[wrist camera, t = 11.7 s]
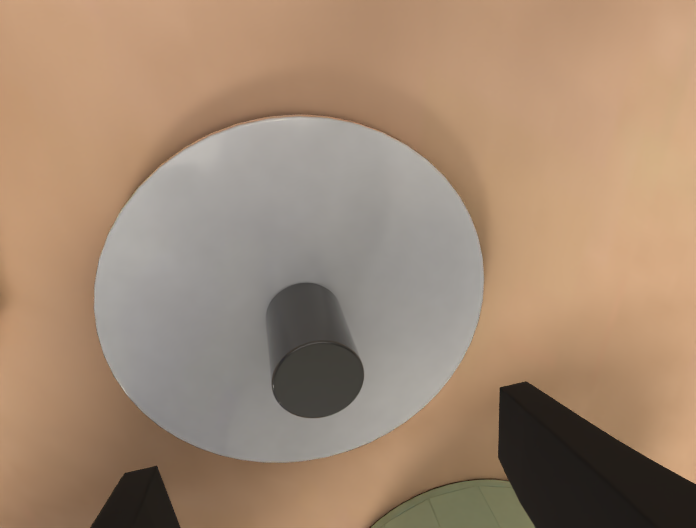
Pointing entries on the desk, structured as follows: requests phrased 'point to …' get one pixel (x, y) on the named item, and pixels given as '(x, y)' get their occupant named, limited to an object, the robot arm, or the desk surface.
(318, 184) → the lid
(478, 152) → the desk surface
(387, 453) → the desk surface
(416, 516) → the pot
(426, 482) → the desk surface
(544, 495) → the robot arm
